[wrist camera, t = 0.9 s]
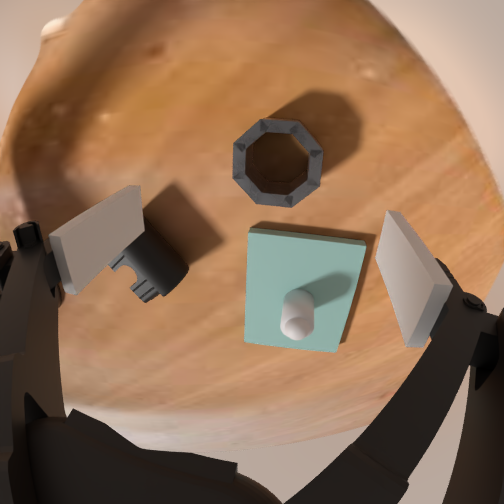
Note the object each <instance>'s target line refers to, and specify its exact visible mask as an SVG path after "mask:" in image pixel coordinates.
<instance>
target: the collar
mask: <svg viewBox="0 0 504 504" xmlns="http://www.w3.org/2000/svg"><path fill="white" fill-rule="evenodd" d="M266 132H274V133H287V134H293V135H294V136H295V137H296V139H297V140H298V141H299V142H300V143H301V144H302V145H303V147H304V148H305V149H306V150H307V151H308V152H309V153H308V164H307V170H306V171H304V172H303V173H302V174H300V175H299V176H298V177H297V178H295V179H294V180H293V181H292V182H290V183H287V182H277V181H268V180H267V179H266V178H265V177H264V176H263V175H262V173H261V172H260V171H259V170H258V169H257V168H256V167H255V166H254V165H253V158H254V143H255V142H256V141H257V140H258V139H259V138H260V137H262V136H263V135H264V134H265V133H266ZM322 161H323V149H322V147H321V145H320V144H319V142H318V141H317V140H316V139H315V138H314V136H313V135H312V134H311V133H310V132H309V131H308V129H307V128H306V127H305V126H304V125H303V124H302V123H301V121H300V120H293V119H281V118H263V119H260V120H259V121H258V122H257V123H255V124H254V125H253V126H252V127H251V128H250V129H249V130H248V131H246V132H245V133H244V134H243V135H242V136H241V137H240V138H239V139H237V140H236V141H235V142H234V143H233V179H234V180H235V181H236V182H237V183H238V185H239V186H240V187H241V188H242V189H243V190H244V191H245V192H246V193H247V194H248V195H249V196H250V198H251V199H252V200H253V201H254V202H255V203H256V204H261V205H271V206H281V207H290V208H292V207H293V206H295V205H296V204H297V203H299V202H300V201H301V200H302V199H304V198H305V197H306V196H308V195H309V194H310V193H312V192H313V191H314V190H316V189H317V188H318V187H320V179H321V170H322Z"/></svg>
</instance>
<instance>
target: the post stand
mask: <svg viewBox="0 0 504 504" xmlns="http://www.w3.org/2000/svg"><path fill="white" fill-rule="evenodd" d="M365 250H366V244H365V241H363V240H355V239H347V238H339V237H331V236H323V235H314V234H306V233H297V232H288V231H279V230H270V229H261V228H251V227H250V230H249V232H248V253H247V279H246V306H245V334H244V342H248V343H254V344H262V345H269V346H277V347H285V348H294V349H303V350H313V351H324V352H336V351H337V348H338V345H339V342H340V339H341V336H342V333H343V330H344V326H345V323H346V320H347V317H348V314H349V310H350V307H351V303H352V300H353V296H354V293H355V289H356V286H357V282H358V278H359V274H360V271H361V267H362V263H363V259H364V255H365Z"/></svg>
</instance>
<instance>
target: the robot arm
mask: <svg viewBox="0 0 504 504" xmlns="http://www.w3.org/2000/svg"><path fill="white" fill-rule="evenodd" d="M144 231H145V229H144V221H143V211H142V201H141V189H140V186H133V185H129V186H127V187H125V188H123V189H122V190H120V191H118V192H116V193H115V194H113V195H111V196H109V197H108V198H106V199H104V200H102V201H101V202H99V203H97V204H96V205H94V206H92V207H91V208H89V209H87V210H86V211H84V212H83V213H81V214H79V215H78V216H76V217H75V218H73V219H72V220H70V221H68V222H67V223H65V224H64V225H62V226H61V227H59V228H58V229H56V230H55V231H53V232H52V233H50V234H49V235H48V236H49V238H48V239H46V240H45V241H44V242H43V239H42V235H41V230H40V226H39V222H38V221H29V222H26V223H23V224H21V225H19V226H17V227H16V228H15V229H14V230H13V233H14V236H15V240H16V243H17V247H18V249H17V251H12V249H11V246H10V243H9V242H8V241H4V242H0V504H282V503H281V501H280V500H279V499H278V498H277V497H276V496H275V495H274V494H273V493H271V492H270V491H269V490H268V489H267V488H265V487H264V486H262V485H261V484H259V483H257V482H256V481H254V480H252V479H250V478H249V477H247V476H244V475H242V474H240V473H237V463H235V462H229V461H224V460H219V459H214V458H210V457H206V456H202V455H197V454H194V453H187V452H169V451H157V450H147V449H142V448H139V447H137V446H136V445H134V444H133V443H131V442H130V441H128V440H127V439H126V438H124V437H123V436H121V435H120V434H119V433H117V432H116V431H115V430H113V429H112V428H111V427H109V426H108V425H107V424H105V423H103V422H101V421H99V420H96V419H94V418H92V417H90V416H88V415H86V414H83V413H81V412H79V411H77V410H75V409H72V411H71V413H70V414H69V416H68V417H66V414H65V410H64V403H63V395H62V386H61V376H60V363H59V344H58V308H59V306H60V304H61V293H60V289H59V286H58V283H59V282H60V281H61V282H62V285H63V288H64V291H65V292H67V293H70V294H74V295H78V294H79V293H80V292H81V291H82V290H83V289H84V288H85V287H86V286H87V285H88V284H89V283H90V282H91V281H92V280H93V279H94V278H95V277H96V276H97V275H98V274H99V273H100V272H101V271H102V270H103V269H104V268H105V267H106V266H107V265H108V264H109V263H110V262H111V261H112V260H113V259H114V258H115V257H116V256H117V255H119V254H120V253H121V252H122V251H123V250H124V249H125V248H126V247H127V246H128V245H129V244H130V243H132V242H133V241H134V240H135V239H136V238H137V237H138V236H139V235H140V234H142V233H143V232H144ZM375 259H376V261H377V264H378V266H379V269H380V272H381V274H382V277H383V280H384V282H385V285H386V288H387V291H388V293H389V296H390V299H391V302H392V305H393V308H394V311H395V314H396V317H397V320H398V323H399V326H400V330H401V333H402V336H403V339H404V343H405V346H406V347H424V345H425V343H426V341H427V339H428V337H429V336H430V337H431V339H432V341H431V342H430V344H429V346H428V347H427V349H426V350H425V352H424V353H423V355H422V356H421V358H420V359H419V361H418V362H417V364H416V365H415V367H414V368H413V370H412V371H411V373H410V374H409V375H408V377H407V378H406V380H405V381H404V382H403V384H402V385H401V387H400V388H399V389H398V391H397V392H396V393H395V394H394V396H393V397H392V398H391V400H390V401H389V402H388V403H387V405H386V406H385V407H384V408H383V410H382V411H381V412H380V413H379V414H378V416H377V417H376V418H375V419H374V420H373V422H372V423H371V424H370V425H369V426H368V427H367V428H366V430H365V431H364V432H363V433H362V434H361V435H360V436H359V437H358V438H357V439H356V441H354V442H353V443H352V444H350V445H349V446H348V447H347V448H346V449H345V450H344V451H343V452H342V453H341V454H340V455H339V456H338V457H337V458H336V459H335V460H334V461H333V462H332V463H331V464H330V465H328V467H326V468H325V469H324V470H323V471H322V472H321V473H320V474H319V475H318V476H316V477H315V478H314V479H313V480H312V481H311V482H310V483H308V485H306V486H305V487H304V488H303V489H301V490H300V491H299V492H298V493H297V494H295V495H294V496H293V497H292V498H290V499H289V500H288V501H286V502H285V503H284V504H397V503H398V502H399V501H400V500H401V498H402V497H403V495H404V493H405V492H406V491H407V489H408V486H409V483H408V482H407V480H408V478H409V476H410V475H411V473H412V472H413V470H414V469H415V467H416V466H417V464H418V463H419V461H420V460H421V458H422V457H423V455H424V453H425V452H426V450H427V449H428V447H429V445H430V444H431V442H432V440H433V439H434V437H435V435H436V433H437V432H438V430H439V428H440V426H441V424H442V422H443V420H444V418H445V417H446V415H447V413H448V411H449V409H450V407H451V405H452V403H453V401H454V398H455V396H456V394H457V392H458V390H459V388H460V385H461V383H462V381H463V378H464V376H465V374H466V371H467V369H468V366H469V365H470V379H469V389H468V397H467V405H466V412H465V418H464V424H463V429H462V434H461V439H460V444H459V449H458V452H457V457H456V461H455V464H454V468H453V472H452V475H451V479H450V482H449V485H448V488H447V491H446V494H445V497H444V500H443V503H442V504H504V308H503V309H502V311H501V313H500V315H499V316H496V315H493V314H490V313H487V309H486V306H485V304H484V303H483V302H482V300H481V299H479V298H478V297H476V296H475V295H473V294H470V293H466V292H463V290H462V289H461V287H460V286H459V284H458V283H457V281H456V280H455V279H454V277H453V275H452V274H451V273H450V271H449V269H448V268H447V266H446V265H445V264H444V263H442V262H441V261H440V260H439V259H438V258H434V257H433V255H432V254H431V252H430V251H429V250H428V248H427V247H426V245H425V244H424V243H423V241H422V240H421V239H420V237H419V236H418V235H417V233H416V232H415V231H414V229H413V228H412V227H411V225H410V224H409V223H408V222H407V220H406V219H405V218H404V216H403V215H402V214H401V213H400V212H396V211H390V210H387V211H386V215H385V220H384V224H383V229H382V233H381V237H380V241H379V245H378V249H377V253H376V257H375Z"/></svg>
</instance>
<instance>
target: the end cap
mask: <svg viewBox="0 0 504 504" xmlns="http://www.w3.org/2000/svg"><path fill="white" fill-rule="evenodd" d="M143 221H144V229H145V231H144V232H143V233H142V234H140V235H139V236H138V237H137V238H136V239H135V240H134V241H133V242H132V243H130V244H129V245H128V246H127V247H126V248H125V249H124V250H123V251H122V252H121V253H120V254H119V255H117V256H116V257H115V258H114V259H113V260H112V261H111V262H110V263H109V264H108V265H109V266H110V267H111V268H112V270H113V271H114V272H115V271H116V270H117V269H118V268H119V267H120V266H122V265H127V266H129V267H131V268H132V269H133V270H134V271H135V273H136V275H137V282H136V283H134V284H133V285H132V286H131V287H130V289H131V290H132V291H133V292H134V293H135V294H136V295H137V296H138V297H139V298H140V299H141V300H142V301H143V302H145V303H147V302H148V301H150V300H152V299H153V298H155V297H156V296H158V295H159V294H161V295H162V296H163V297H164V296H166V295H167V294H168V293H170V292H171V291H172V290H173V289H174V288H175V287H176V286H177V285H178V284H179V283H180V282H181V281H182V280H183V278H184V277H185V276H186V274H187V273H188V271H189V266H188V265H187V264H186V263H185V262H184V261H183V260H182V259H181V258H180V256H179V255H178V254H177V253H176V252H175V251H174V250H173V249H172V248H171V247H170V245H169V244H168V243H167V242H166V241H165V240H164V239H163V238H162V237H161V235H160V234H159V233H158V232H157V231H156V230H155V229H154V228H153V227H152V225H151V224H150V223H149V222H148V221H147V220H146V219H145V217H144V216H143Z"/></svg>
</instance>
